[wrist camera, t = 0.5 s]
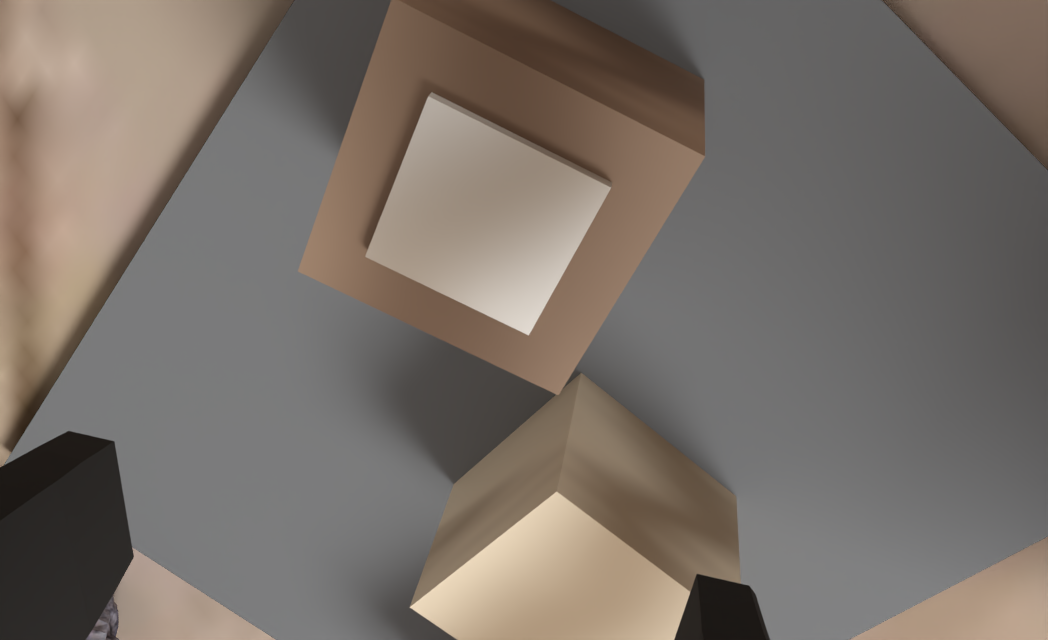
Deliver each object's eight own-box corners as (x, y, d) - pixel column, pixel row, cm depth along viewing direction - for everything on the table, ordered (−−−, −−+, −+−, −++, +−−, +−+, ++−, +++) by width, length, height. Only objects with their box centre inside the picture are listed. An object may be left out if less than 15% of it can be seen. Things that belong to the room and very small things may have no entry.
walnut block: (704, 80, 16) (705, 161, 12) (583, 286, 19) (556, 402, 15) (458, -47, 16) (387, -1, 12) (372, 183, 18) (292, 276, 15)
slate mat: (1273, 401, 18) (1284, 413, 17) (533, 792, 30) (531, 804, 29) (528, -363, 13) (524, -367, 13) (13, 455, 25) (3, 464, 25)
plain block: (736, 496, 21) (743, 631, 17) (598, 589, 23) (580, 724, 20) (581, 372, 20) (556, 491, 16) (453, 484, 22) (409, 607, 19)
